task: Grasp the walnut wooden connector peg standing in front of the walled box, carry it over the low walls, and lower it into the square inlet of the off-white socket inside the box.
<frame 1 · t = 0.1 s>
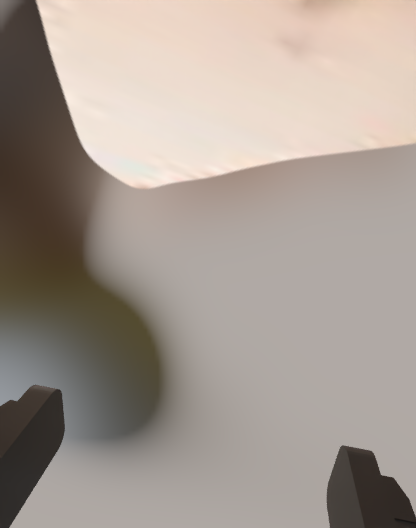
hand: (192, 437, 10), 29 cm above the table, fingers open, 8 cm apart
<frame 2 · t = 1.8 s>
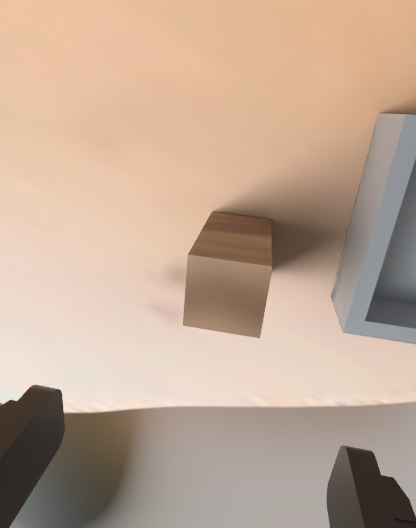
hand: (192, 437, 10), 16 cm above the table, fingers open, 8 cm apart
connector peg: (237, 243, 25), on the table
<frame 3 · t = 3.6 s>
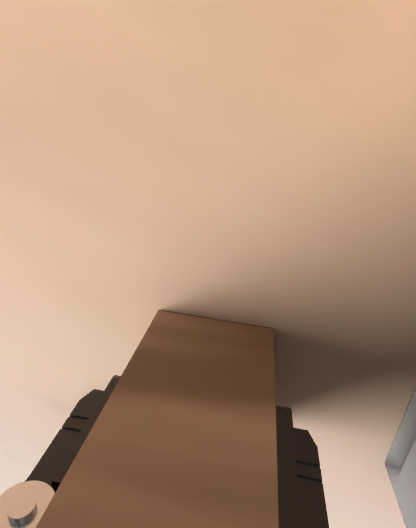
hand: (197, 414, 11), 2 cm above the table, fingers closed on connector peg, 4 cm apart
connector peg: (209, 366, 13), on the table, touching gripper
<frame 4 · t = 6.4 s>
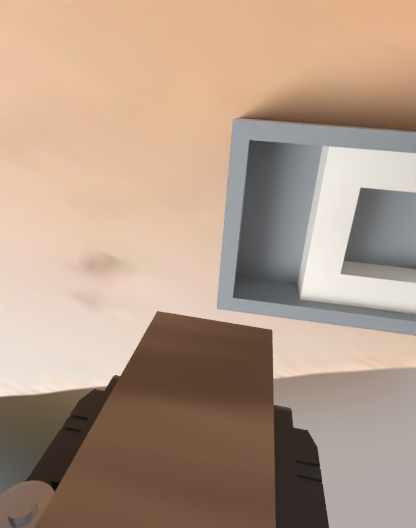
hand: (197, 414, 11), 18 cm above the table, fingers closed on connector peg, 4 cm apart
connector peg: (208, 367, 13), point 15 cm above the table, touching gripper
walled box: (381, 221, 25), on the table
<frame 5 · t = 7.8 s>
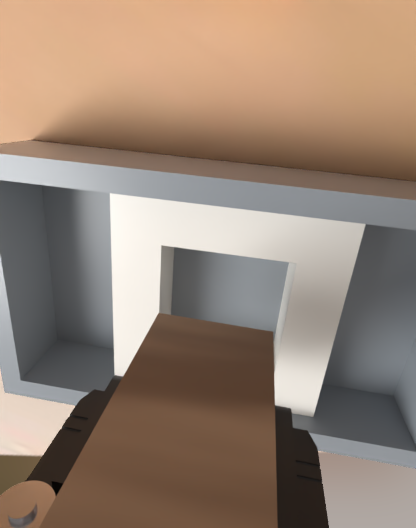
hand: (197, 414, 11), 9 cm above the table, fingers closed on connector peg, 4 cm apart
connector peg: (209, 368, 13), point 7 cm above the table, touching gripper
walled box: (228, 278, 19), on the table
when the fingers open (5 cm above the table, at t = 9.0 s): connector peg drops 1 cm, resting on walled box.
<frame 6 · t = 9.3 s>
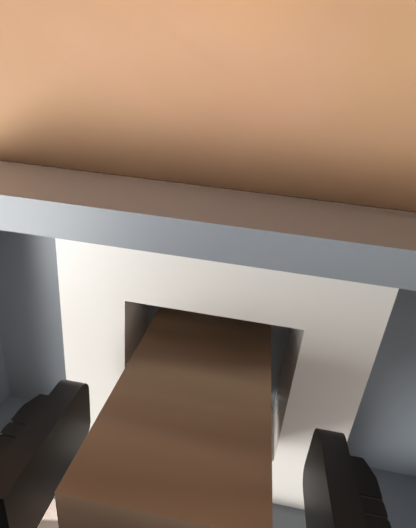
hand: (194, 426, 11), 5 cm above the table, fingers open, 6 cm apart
connector peg: (213, 345, 15), point 1 cm above the table, touching walled box
walled box: (217, 329, 15), on the table
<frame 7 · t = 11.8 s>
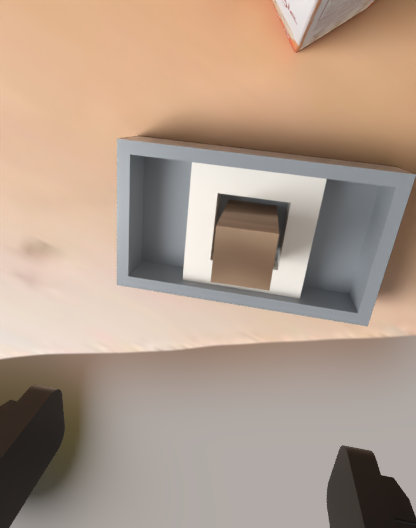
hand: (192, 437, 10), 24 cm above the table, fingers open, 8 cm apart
connector peg: (249, 225, 31), point 1 cm above the table, touching walled box
walled box: (250, 221, 32), on the table
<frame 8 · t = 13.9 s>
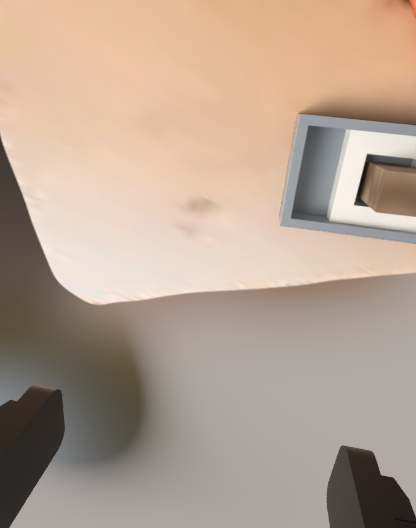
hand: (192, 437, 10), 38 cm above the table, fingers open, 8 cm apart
connector peg: (379, 180, 41), point 1 cm above the table, touching walled box
walled box: (377, 178, 42), on the table
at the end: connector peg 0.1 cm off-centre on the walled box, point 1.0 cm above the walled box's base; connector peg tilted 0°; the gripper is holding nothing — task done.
